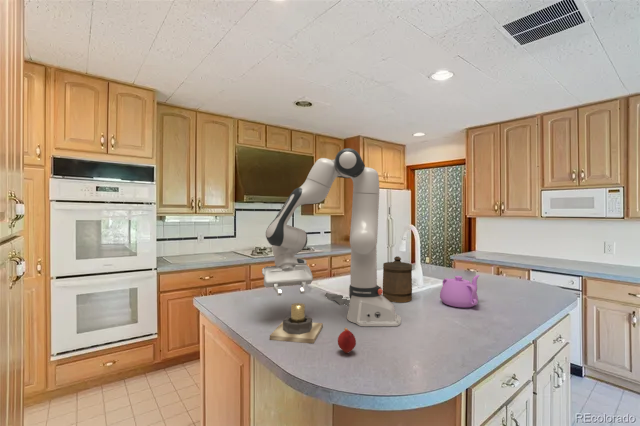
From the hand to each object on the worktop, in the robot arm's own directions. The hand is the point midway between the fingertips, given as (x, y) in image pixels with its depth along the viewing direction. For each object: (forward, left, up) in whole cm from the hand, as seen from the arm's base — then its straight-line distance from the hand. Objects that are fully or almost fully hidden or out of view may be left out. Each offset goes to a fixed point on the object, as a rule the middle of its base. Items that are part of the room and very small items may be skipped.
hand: (291, 293), depth 128 cm
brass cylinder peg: (-5, +7, -11) cm, 14 cm away
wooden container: (-43, -49, -13) cm, 66 cm away
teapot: (-74, -46, -13) cm, 88 cm away
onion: (-25, +20, -13) cm, 34 cm away
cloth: (-13, -41, -13) cm, 45 cm away
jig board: (-5, +7, -13) cm, 15 cm away
